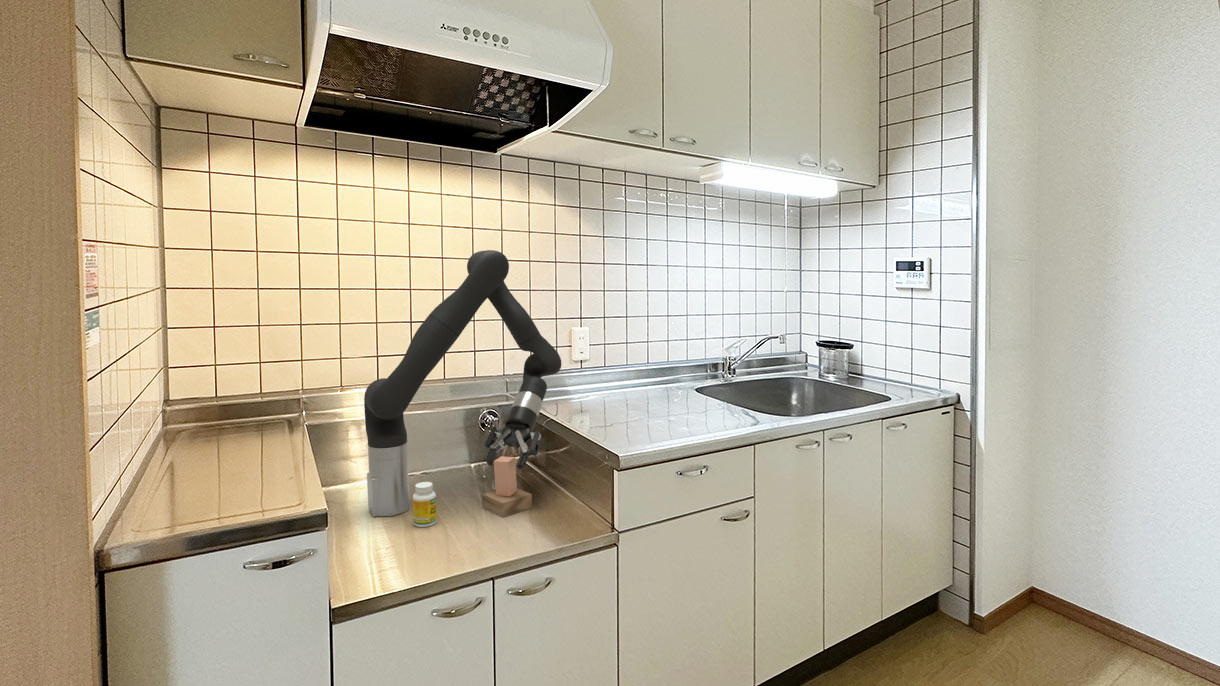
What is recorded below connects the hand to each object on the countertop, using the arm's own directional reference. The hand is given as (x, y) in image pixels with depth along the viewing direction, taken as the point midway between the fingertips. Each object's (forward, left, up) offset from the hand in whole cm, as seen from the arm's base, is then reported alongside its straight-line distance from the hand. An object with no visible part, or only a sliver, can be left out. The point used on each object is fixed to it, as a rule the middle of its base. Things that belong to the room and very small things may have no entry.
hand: (503, 466), depth 149 cm
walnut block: (+1, +1, -12) cm, 12 cm away
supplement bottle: (-20, +2, -11) cm, 23 cm away
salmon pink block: (+1, +1, -8) cm, 8 cm away
